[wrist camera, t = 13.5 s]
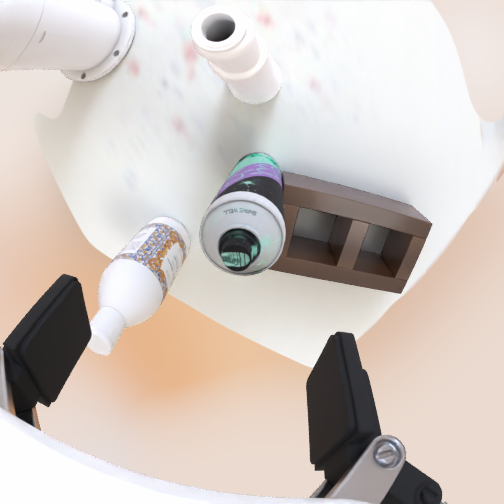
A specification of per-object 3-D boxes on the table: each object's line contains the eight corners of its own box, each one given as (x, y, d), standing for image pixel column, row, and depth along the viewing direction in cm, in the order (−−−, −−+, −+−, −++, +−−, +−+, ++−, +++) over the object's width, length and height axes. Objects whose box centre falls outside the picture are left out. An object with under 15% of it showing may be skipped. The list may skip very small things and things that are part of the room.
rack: (282, 170, 33) (284, 183, 28) (412, 205, 33) (432, 223, 28) (266, 244, 38) (264, 268, 32) (387, 269, 38) (400, 294, 33)
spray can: (290, 180, 33) (306, 269, 16) (252, 205, 35) (229, 313, 18) (262, 142, 31) (245, 190, 14) (225, 170, 33) (168, 248, 16)
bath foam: (193, 262, 40) (142, 377, 22) (148, 260, 40) (80, 363, 23) (188, 215, 36) (118, 318, 19) (140, 215, 37) (52, 307, 19)
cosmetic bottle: (264, 113, 30) (246, 121, 10) (218, 89, 29) (123, 65, 9) (292, 70, 27) (323, 5, 8) (244, 46, 26) (193, -44, 7)
